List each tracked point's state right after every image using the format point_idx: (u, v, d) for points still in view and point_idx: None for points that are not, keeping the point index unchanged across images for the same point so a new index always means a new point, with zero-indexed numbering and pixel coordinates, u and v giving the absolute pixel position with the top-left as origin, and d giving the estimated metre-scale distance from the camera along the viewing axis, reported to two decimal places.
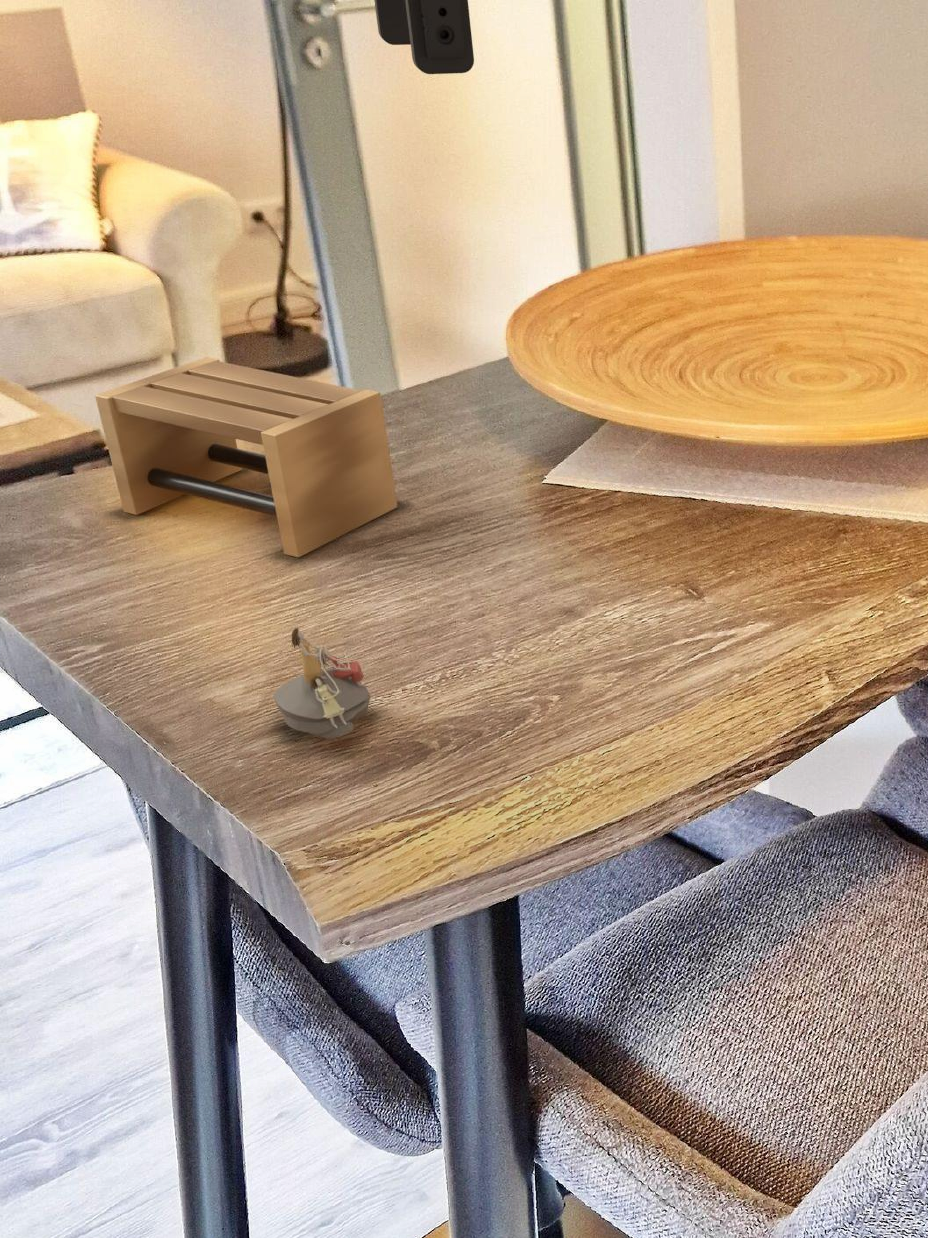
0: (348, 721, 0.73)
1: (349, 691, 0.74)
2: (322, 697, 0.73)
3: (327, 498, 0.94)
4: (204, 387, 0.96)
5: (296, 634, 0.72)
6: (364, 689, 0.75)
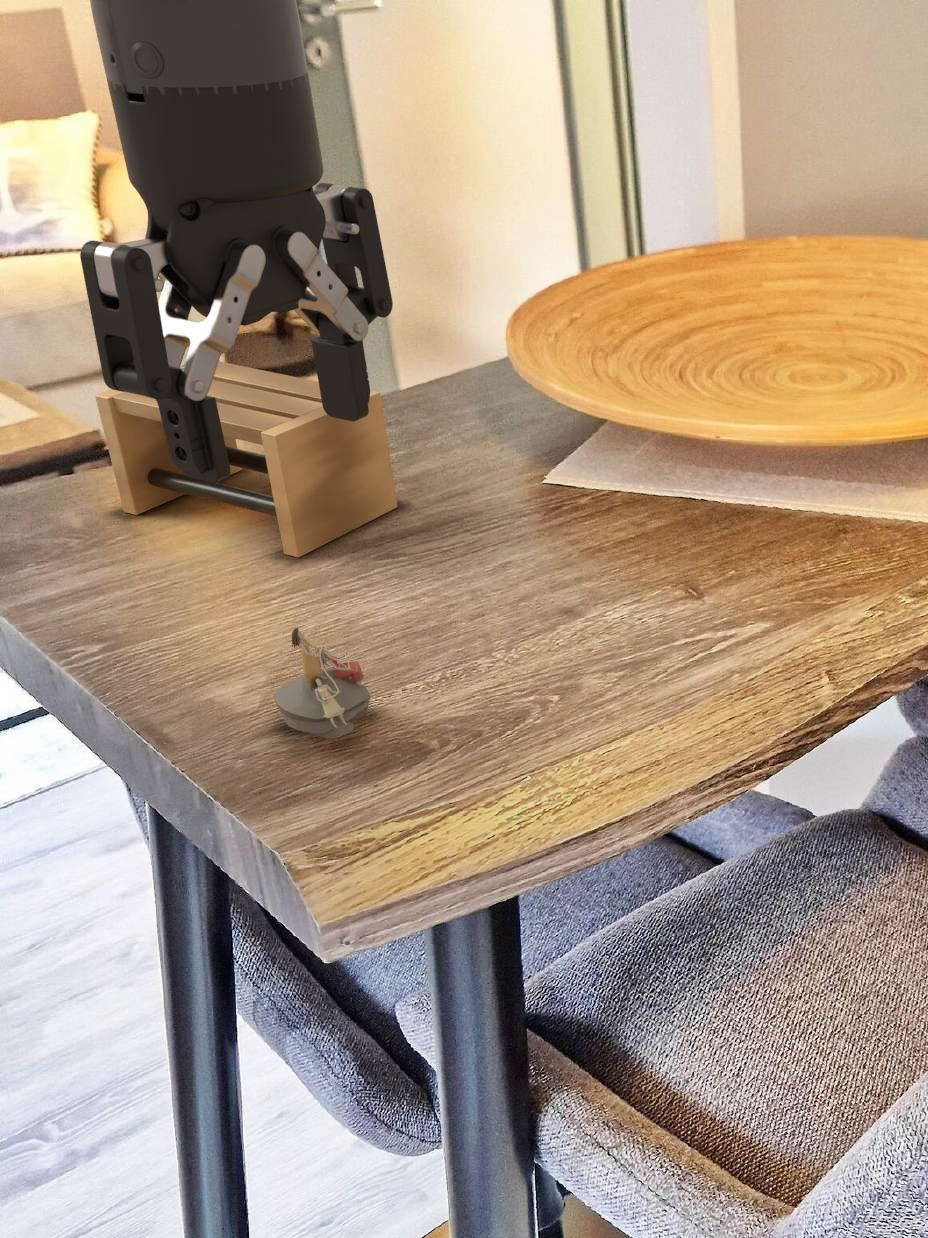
0: (348, 721, 0.73)
1: (349, 691, 0.74)
2: (322, 697, 0.73)
3: (327, 498, 0.94)
4: None
5: (296, 634, 0.72)
6: (364, 689, 0.75)
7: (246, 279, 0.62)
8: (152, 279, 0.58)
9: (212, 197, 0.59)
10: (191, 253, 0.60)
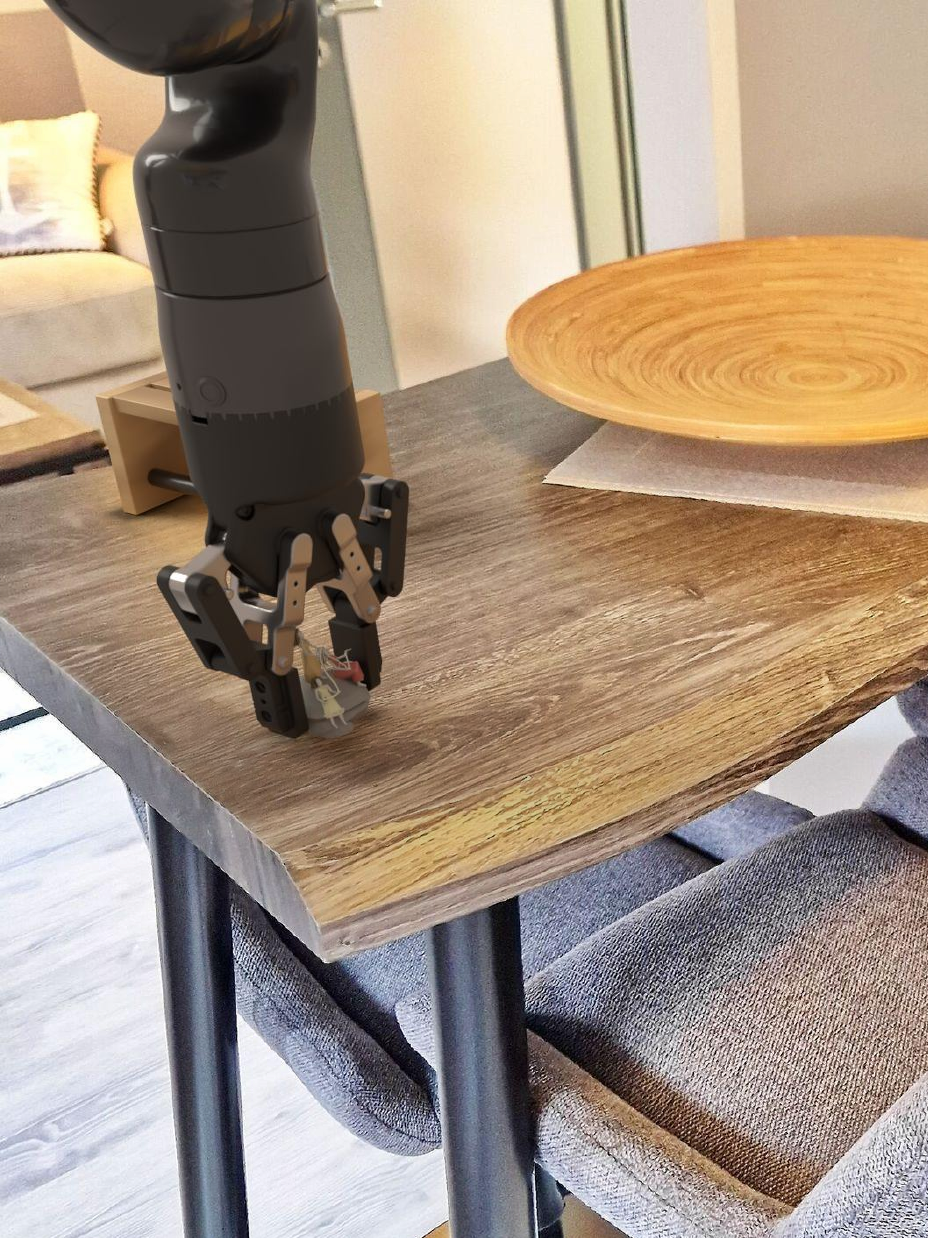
0: (348, 721, 0.73)
1: (349, 691, 0.74)
2: (322, 697, 0.73)
3: None
4: None
5: (297, 634, 0.72)
6: (364, 689, 0.75)
7: (300, 565, 0.68)
8: (223, 593, 0.65)
9: (267, 501, 0.65)
10: (248, 551, 0.66)
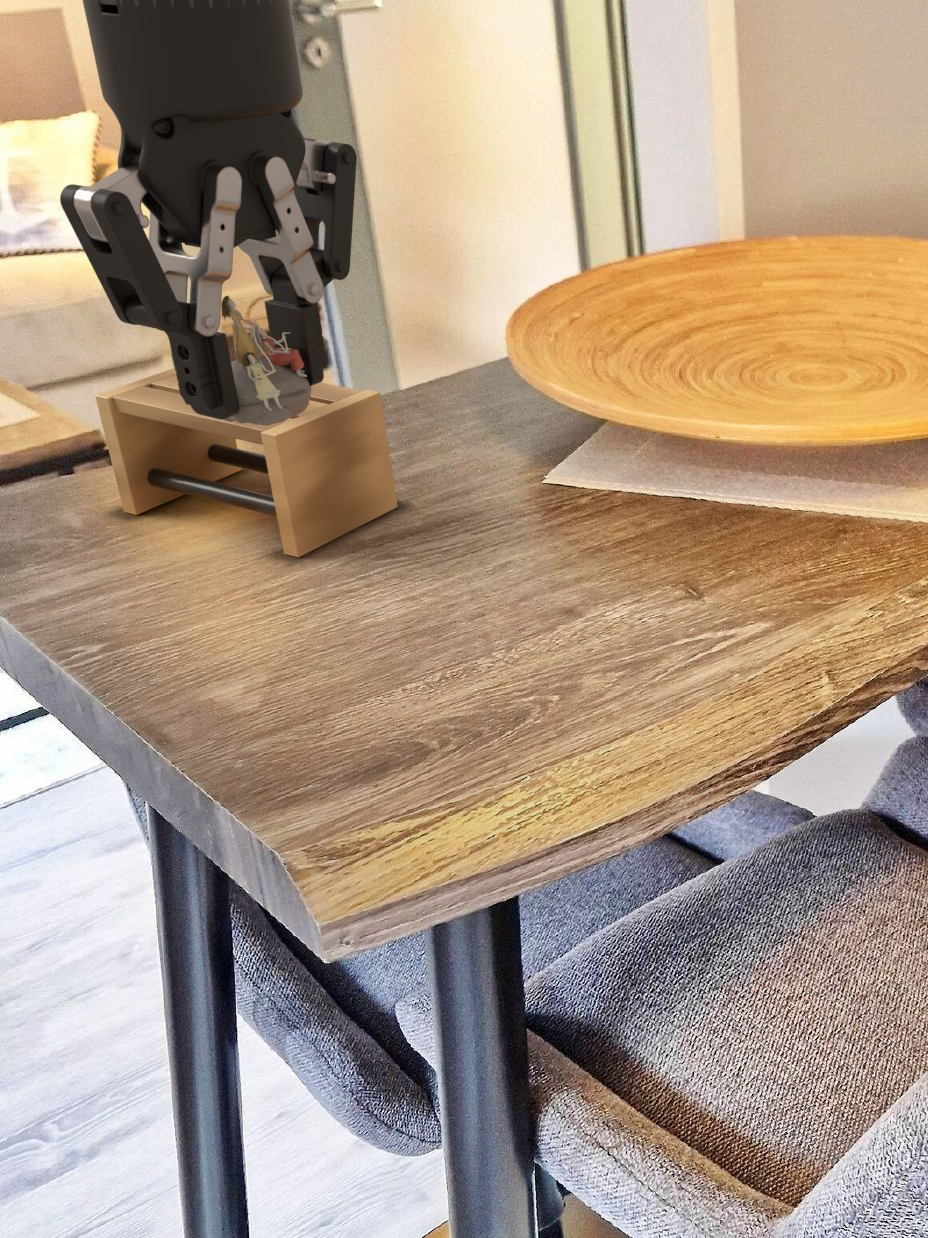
0: (285, 407, 0.66)
1: (287, 377, 0.67)
2: (255, 376, 0.65)
3: (327, 498, 0.94)
4: None
5: (227, 303, 0.64)
6: (304, 380, 0.68)
7: (227, 205, 0.61)
8: (136, 218, 0.58)
9: (187, 114, 0.58)
10: (166, 176, 0.59)
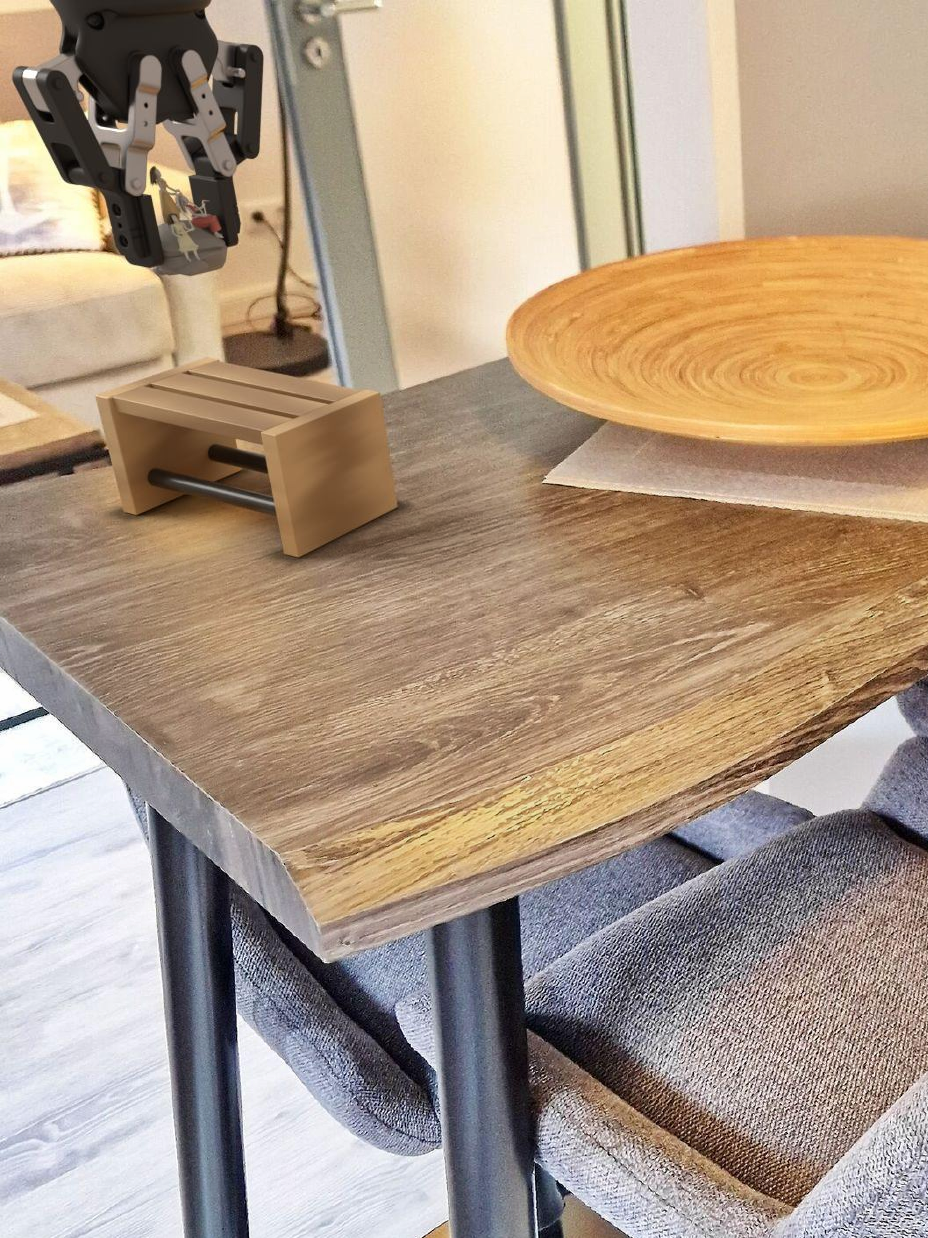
0: (203, 260, 0.80)
1: (205, 236, 0.81)
2: (177, 232, 0.79)
3: (327, 498, 0.94)
4: (204, 387, 0.96)
5: (154, 172, 0.79)
6: (221, 241, 0.82)
7: (149, 86, 0.75)
8: (73, 93, 0.72)
9: (113, 10, 0.72)
10: (98, 61, 0.73)
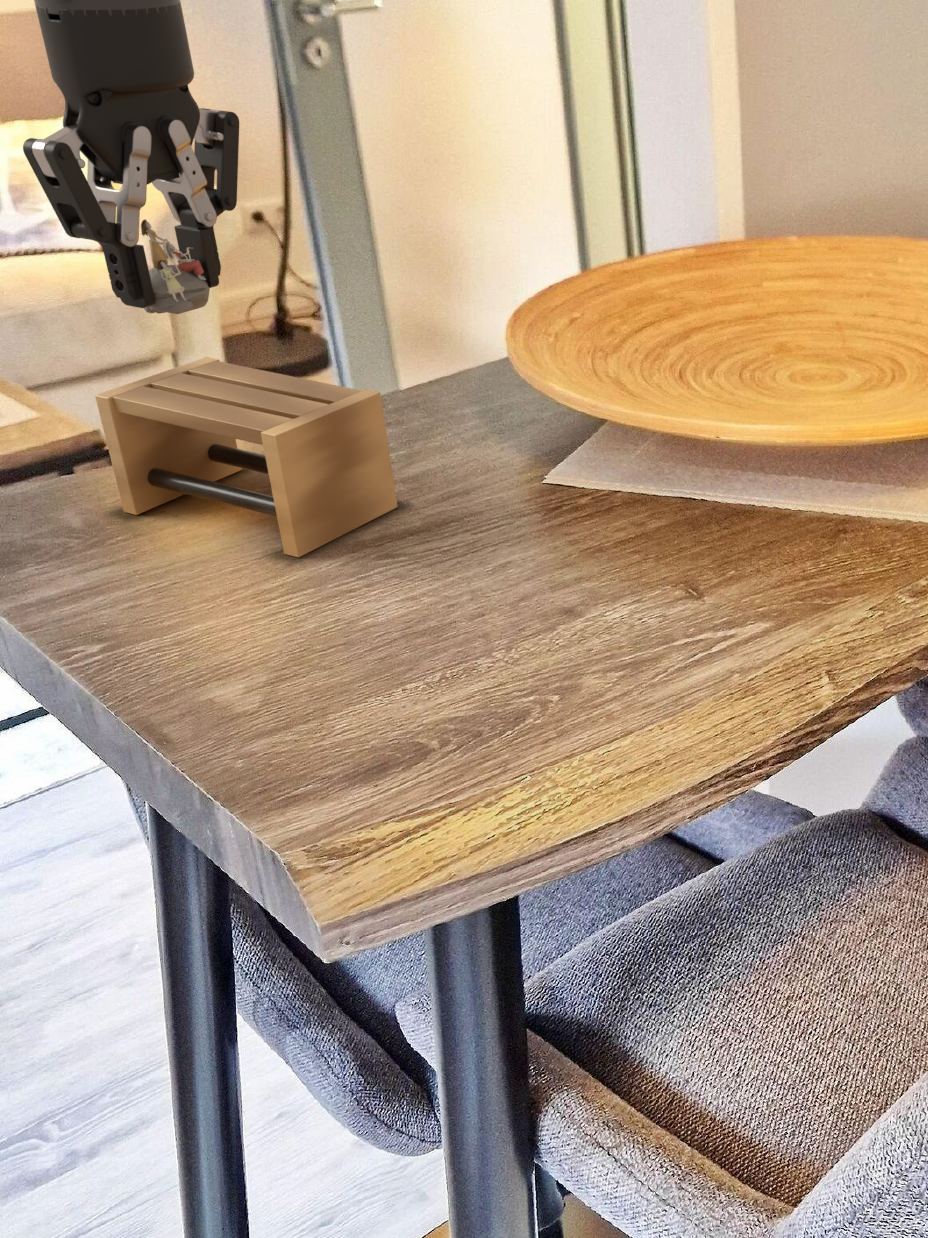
0: (188, 300, 0.92)
1: (190, 279, 0.93)
2: (166, 277, 0.91)
3: (327, 498, 0.94)
4: (204, 387, 0.96)
5: (145, 224, 0.91)
6: (204, 282, 0.94)
7: (141, 153, 0.87)
8: (75, 161, 0.84)
9: (110, 89, 0.84)
10: (97, 133, 0.85)
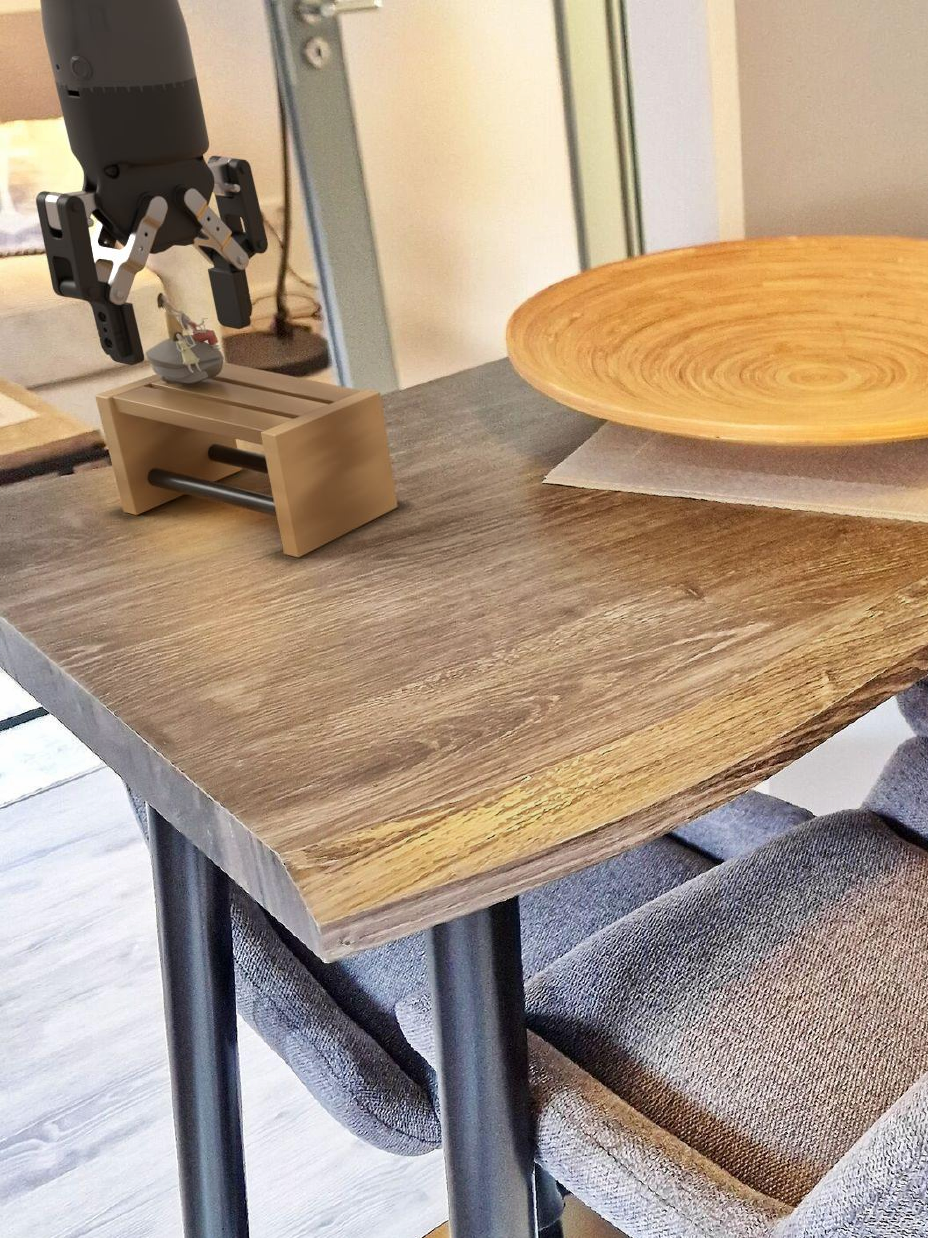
0: (203, 370, 0.94)
1: (205, 349, 0.95)
2: (181, 348, 0.93)
3: (327, 498, 0.94)
4: (204, 387, 0.96)
5: (161, 297, 0.93)
6: (218, 352, 0.96)
7: (153, 220, 0.89)
8: (85, 218, 0.85)
9: (127, 162, 0.86)
10: (113, 201, 0.87)
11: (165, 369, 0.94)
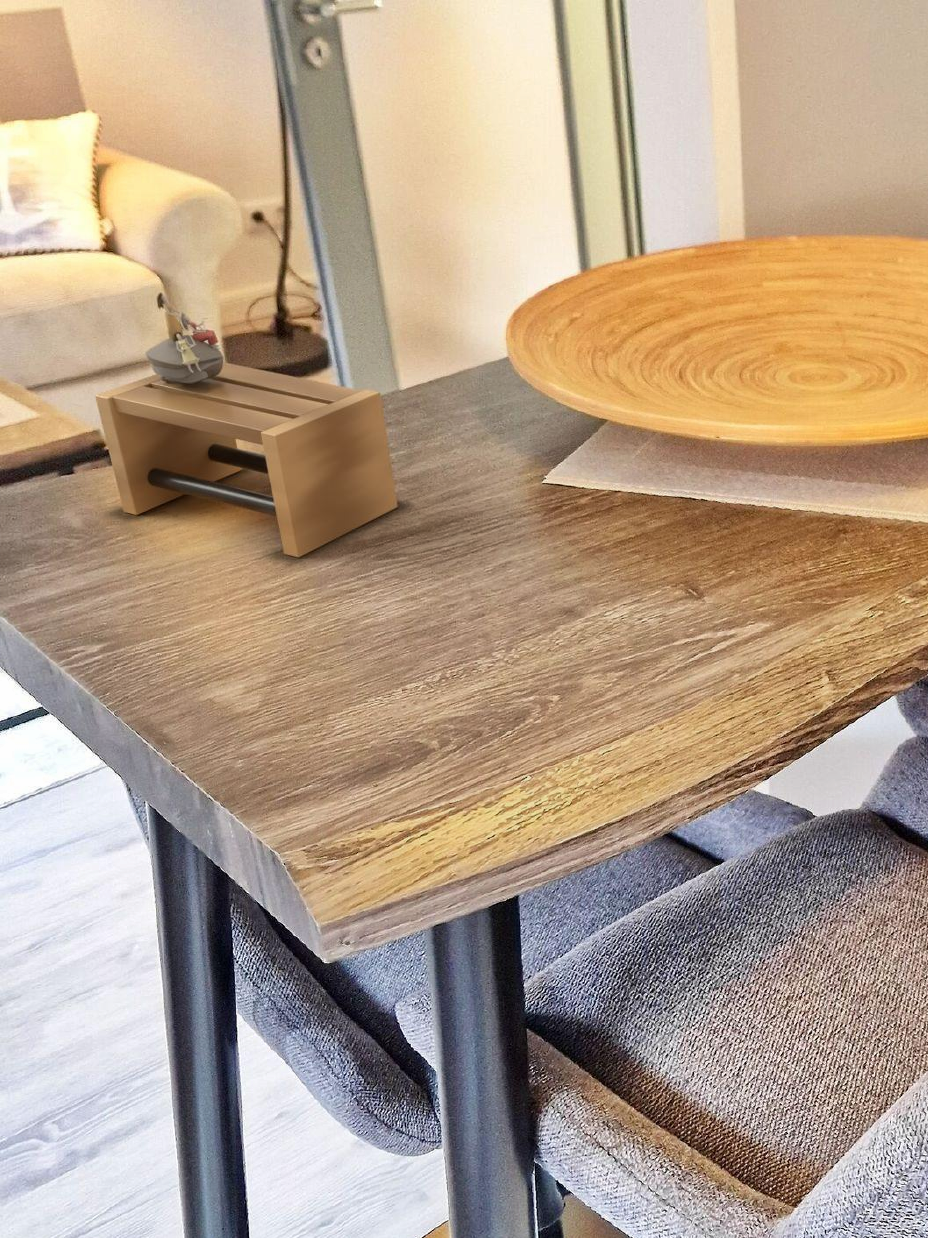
0: (203, 370, 0.94)
1: (205, 349, 0.95)
2: (181, 348, 0.93)
3: (327, 498, 0.94)
4: (204, 387, 0.96)
5: (161, 297, 0.93)
6: (218, 352, 0.96)
7: None
8: None
9: None
10: None
11: (165, 369, 0.94)
